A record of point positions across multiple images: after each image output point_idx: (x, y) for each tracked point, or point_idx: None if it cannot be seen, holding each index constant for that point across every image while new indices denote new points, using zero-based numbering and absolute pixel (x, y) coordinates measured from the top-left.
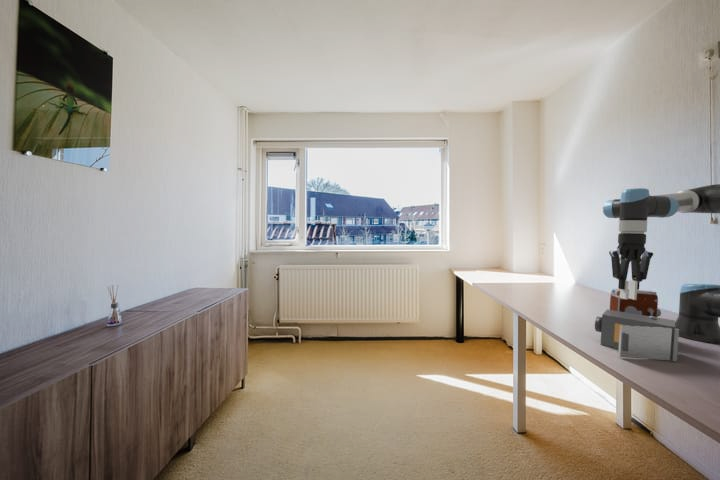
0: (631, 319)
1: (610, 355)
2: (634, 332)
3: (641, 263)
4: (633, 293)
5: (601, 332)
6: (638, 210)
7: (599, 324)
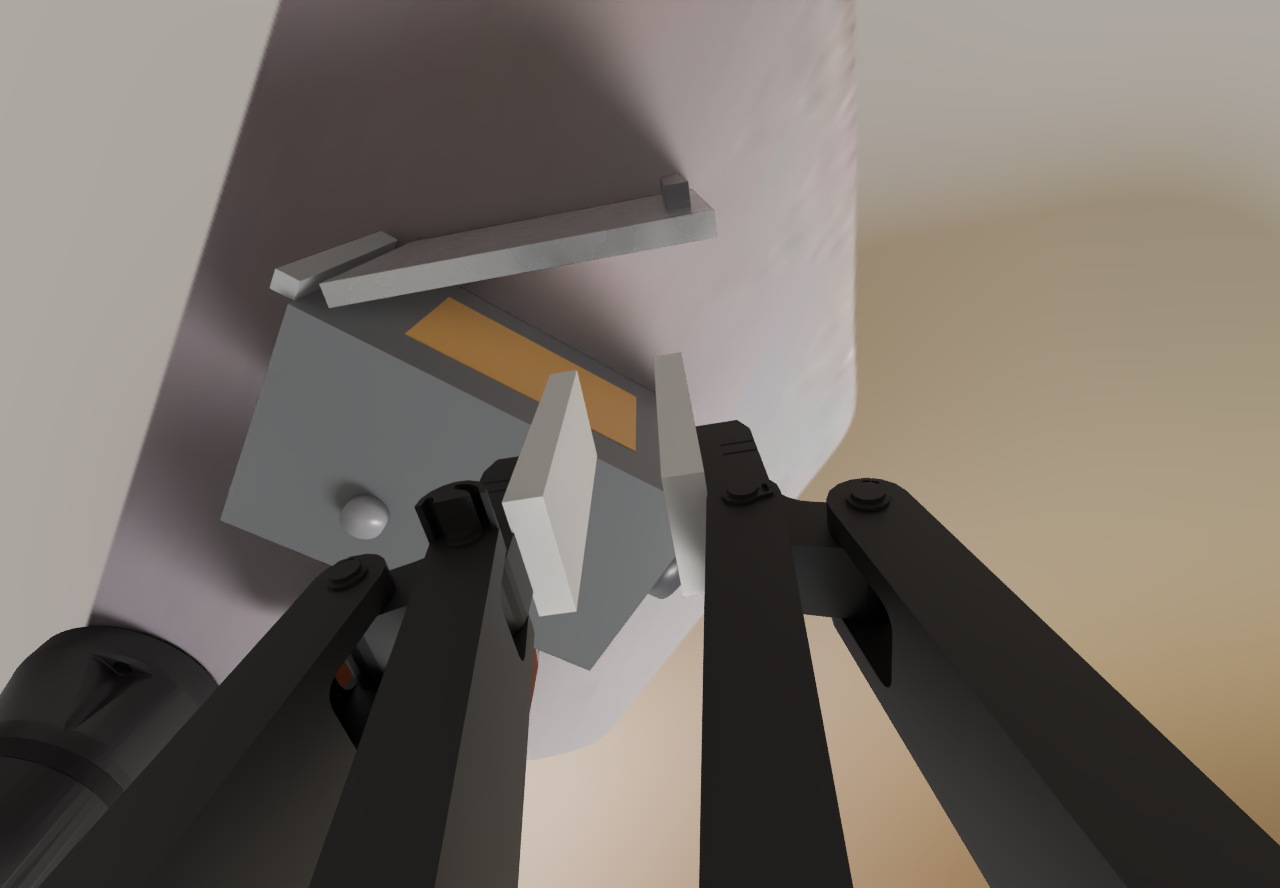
0: None
1: (722, 230)
2: (610, 223)
3: None
4: (572, 417)
5: None
6: None
7: None
